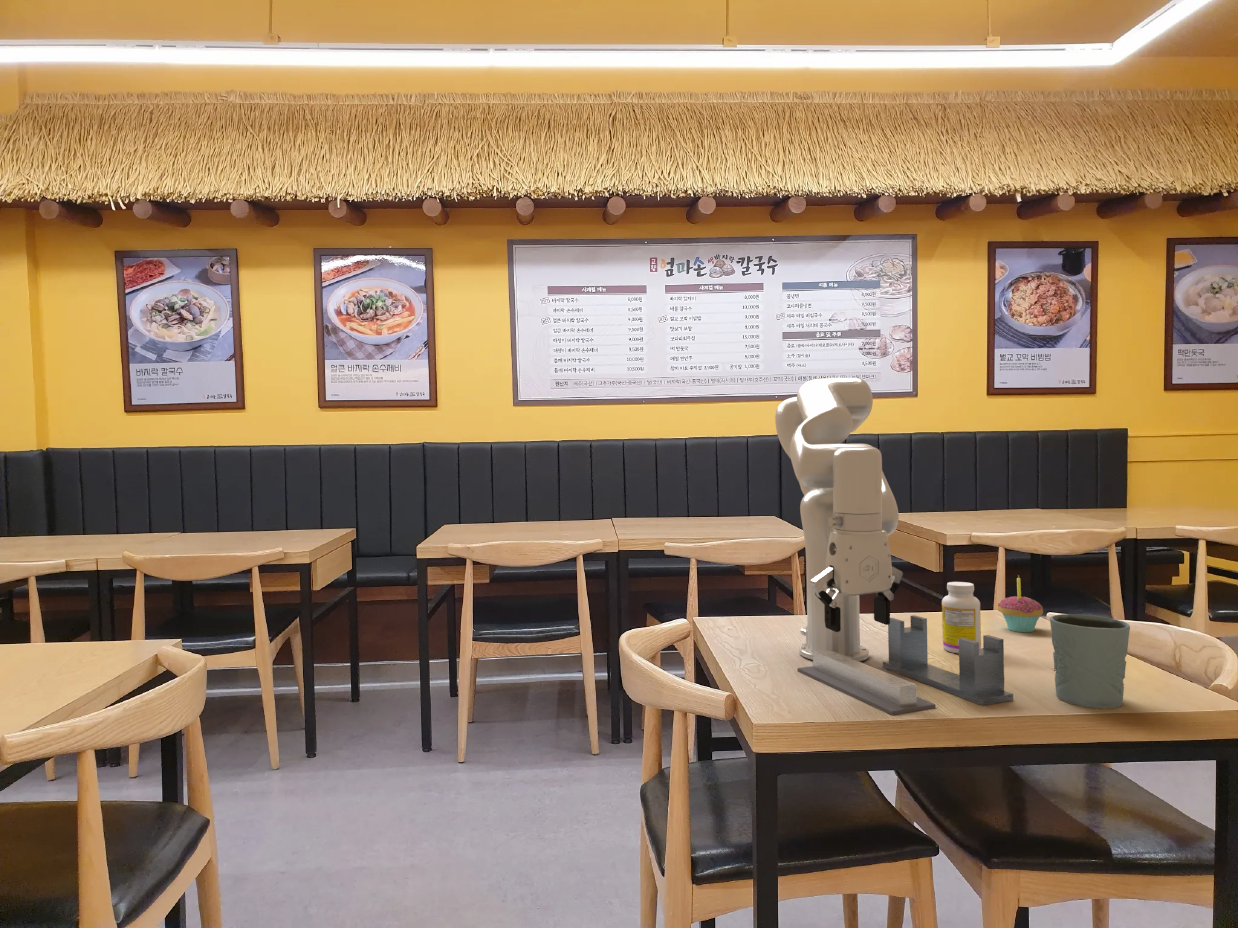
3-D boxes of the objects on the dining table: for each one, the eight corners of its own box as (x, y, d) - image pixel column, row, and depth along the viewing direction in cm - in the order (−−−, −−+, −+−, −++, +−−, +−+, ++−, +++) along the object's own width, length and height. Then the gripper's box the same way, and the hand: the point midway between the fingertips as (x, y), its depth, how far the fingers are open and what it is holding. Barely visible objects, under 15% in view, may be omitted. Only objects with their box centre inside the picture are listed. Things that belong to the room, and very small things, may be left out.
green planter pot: (1036, 692, 114) (1034, 616, 114) (1086, 685, 117) (1085, 611, 117) (1094, 713, 104) (1093, 630, 104) (1148, 706, 107) (1146, 624, 107)
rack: (882, 667, 129) (881, 616, 129) (909, 663, 131) (908, 613, 131) (982, 705, 109) (981, 645, 109) (1013, 700, 111) (1012, 641, 111)
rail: (813, 667, 128) (812, 650, 128) (827, 665, 129) (827, 649, 129) (900, 707, 107) (899, 686, 107) (916, 704, 108) (916, 684, 108)
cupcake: (1042, 636, 149) (1041, 577, 149) (995, 631, 154) (994, 574, 154) (1044, 627, 156) (1043, 571, 156) (1000, 623, 161) (999, 569, 161)
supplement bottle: (956, 644, 144) (955, 579, 144) (988, 651, 138) (987, 584, 138) (935, 649, 140) (934, 583, 140) (967, 657, 135) (966, 587, 135)
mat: (797, 670, 128) (797, 667, 128) (835, 665, 131) (835, 662, 131) (891, 714, 105) (891, 711, 105) (935, 707, 108) (935, 704, 108)
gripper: (826, 529, 112) (827, 639, 113) (916, 521, 118) (916, 625, 119) (798, 523, 119) (799, 626, 120) (885, 516, 125) (885, 614, 126)
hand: (857, 626), depth 119 cm, fingers open, 9 cm apart
